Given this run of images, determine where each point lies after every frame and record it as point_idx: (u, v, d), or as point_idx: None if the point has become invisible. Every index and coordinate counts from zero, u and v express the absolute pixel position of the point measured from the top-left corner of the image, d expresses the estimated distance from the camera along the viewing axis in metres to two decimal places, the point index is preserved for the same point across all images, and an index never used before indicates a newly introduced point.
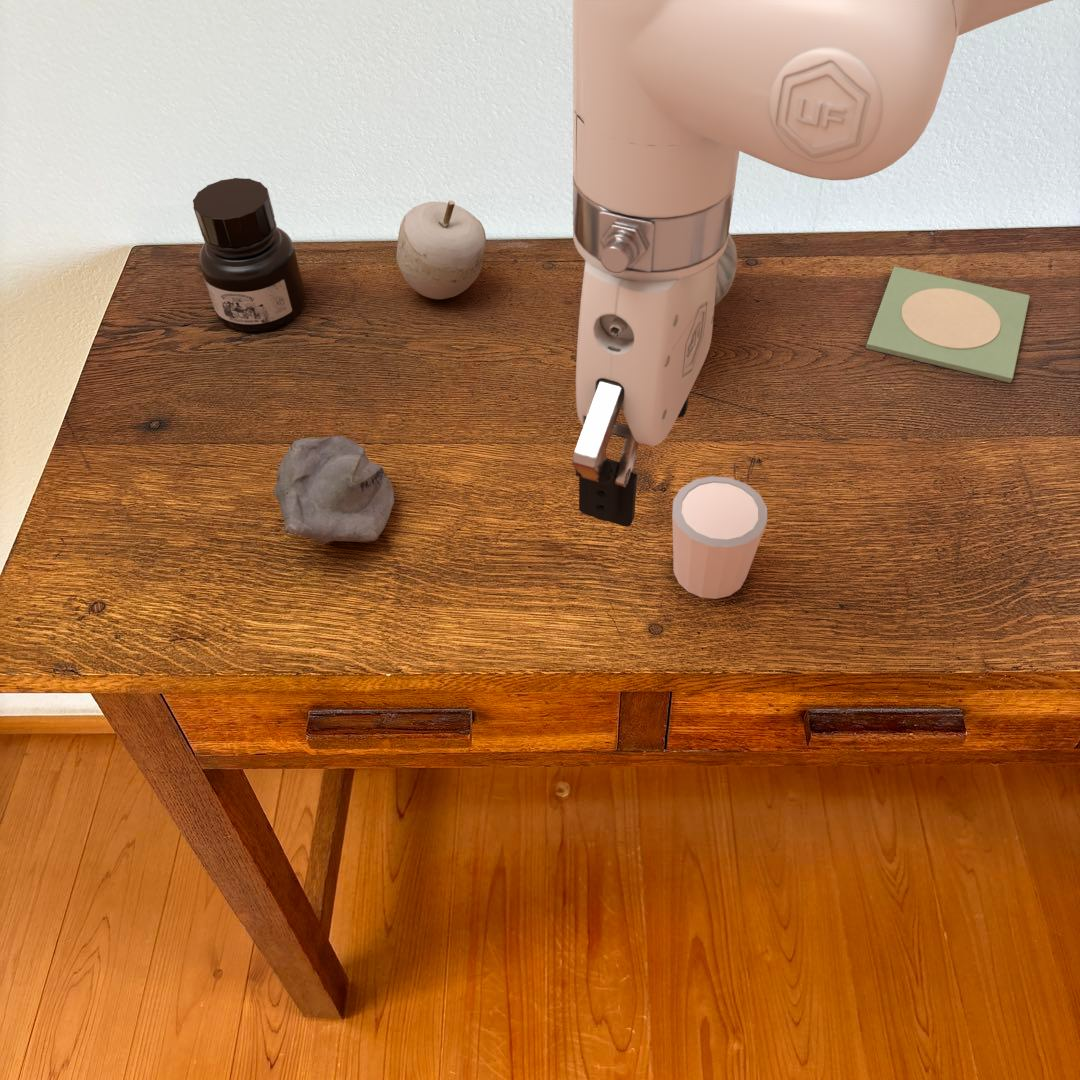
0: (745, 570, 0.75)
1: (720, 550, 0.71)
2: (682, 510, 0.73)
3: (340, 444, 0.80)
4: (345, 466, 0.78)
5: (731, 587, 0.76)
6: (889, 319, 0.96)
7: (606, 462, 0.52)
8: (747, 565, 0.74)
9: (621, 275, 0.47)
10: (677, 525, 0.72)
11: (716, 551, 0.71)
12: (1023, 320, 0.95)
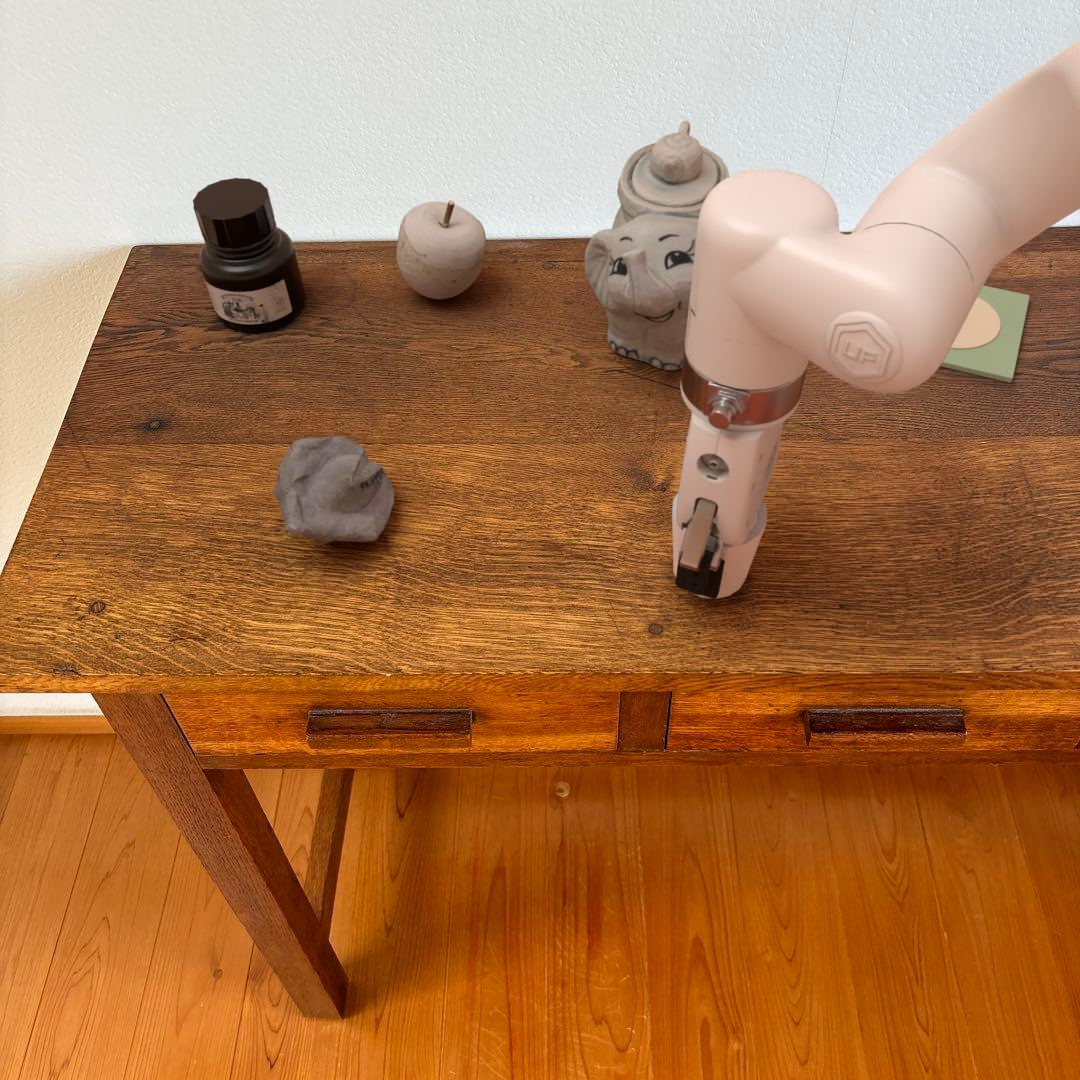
0: (745, 570, 0.75)
1: None
2: None
3: (340, 444, 0.80)
4: (345, 466, 0.78)
5: (731, 587, 0.76)
6: None
7: (705, 555, 0.68)
8: (747, 565, 0.74)
9: None
10: (677, 525, 0.72)
11: None
12: (1023, 320, 0.95)
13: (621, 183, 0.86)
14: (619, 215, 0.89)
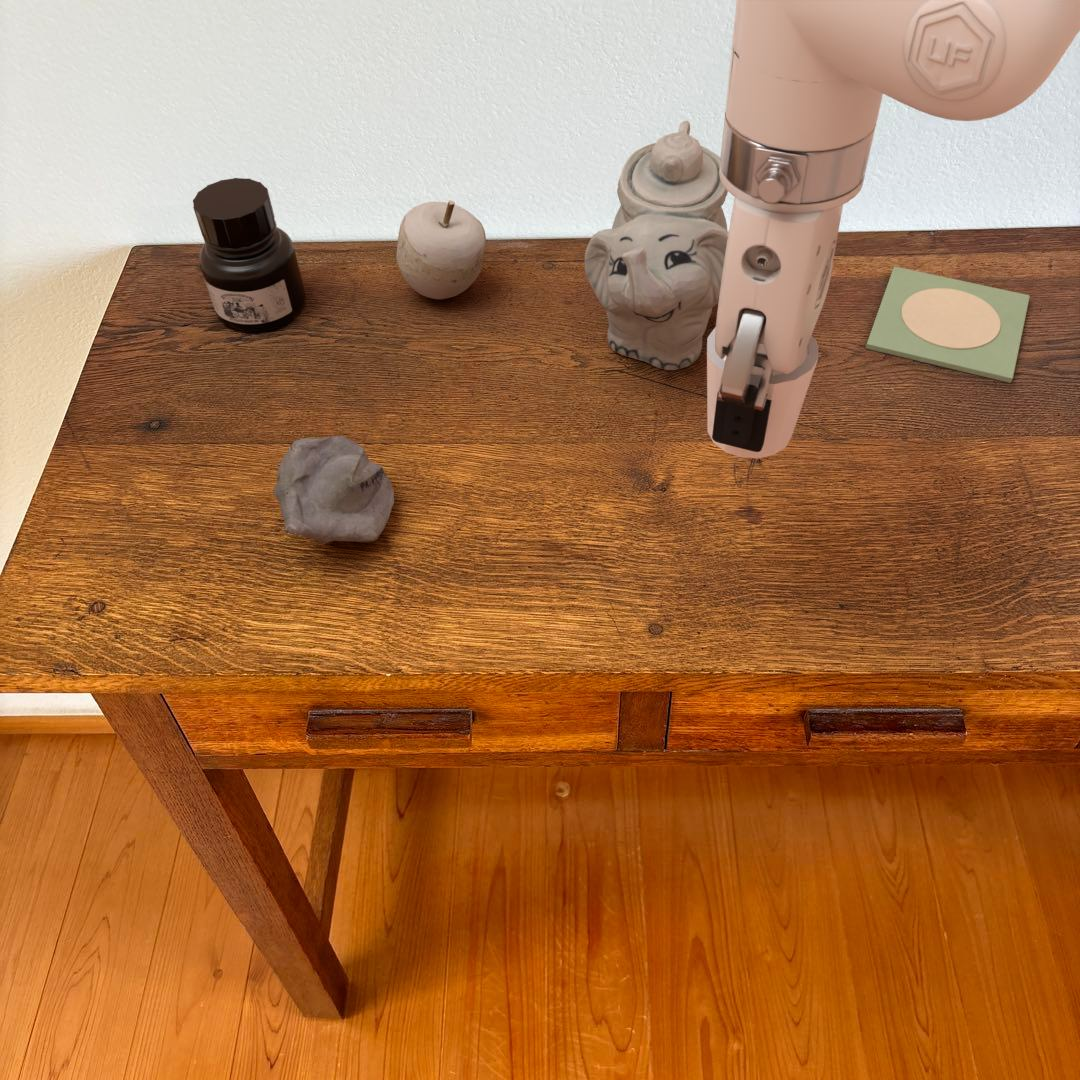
0: (792, 421, 0.64)
1: None
2: None
3: (340, 444, 0.80)
4: (345, 466, 0.78)
5: (776, 443, 0.65)
6: (889, 319, 0.96)
7: (750, 385, 0.58)
8: (795, 414, 0.64)
9: (771, 208, 0.51)
10: (713, 363, 0.62)
11: None
12: (1023, 320, 0.95)
13: (621, 183, 0.86)
14: (619, 215, 0.89)
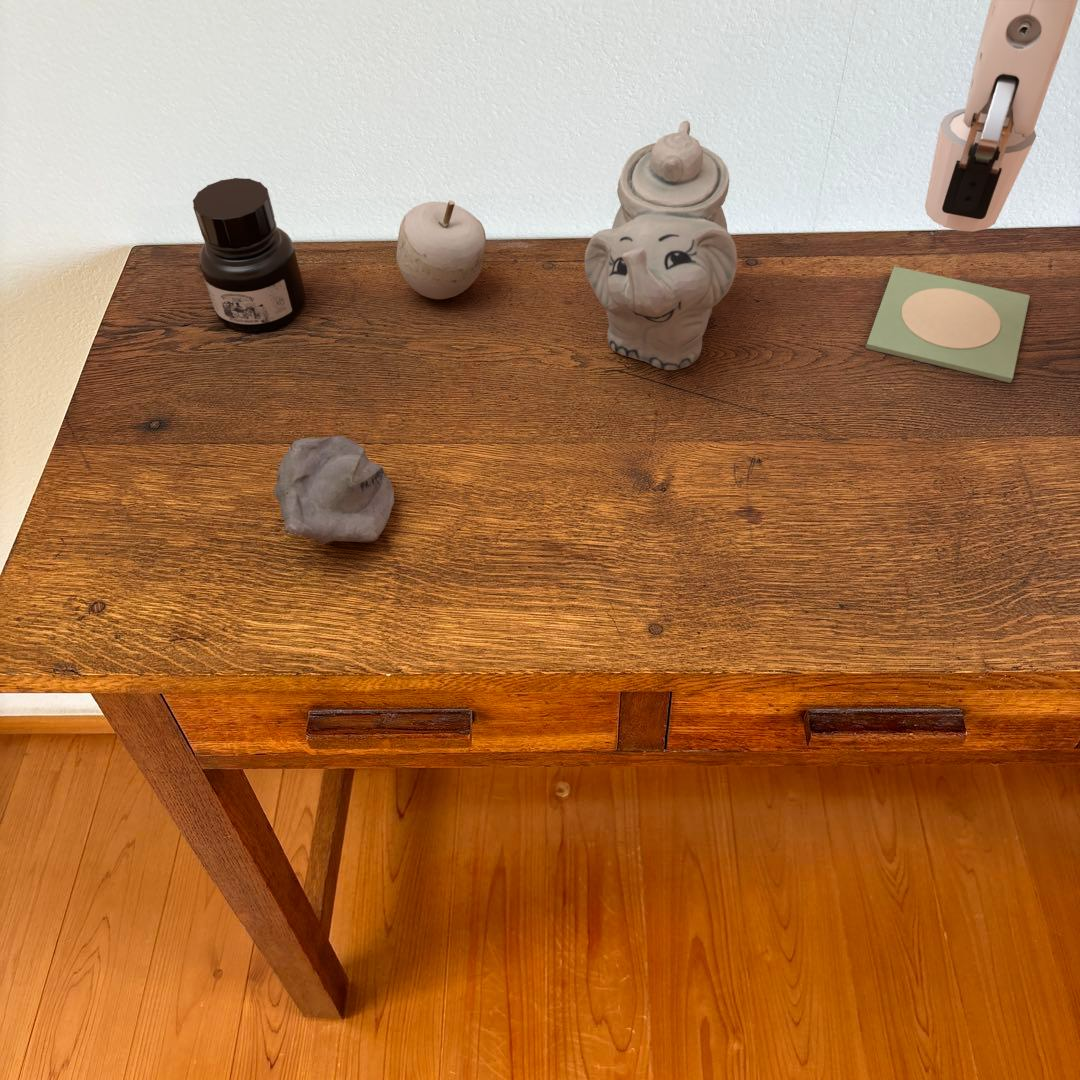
0: (1006, 196, 0.78)
1: None
2: (952, 130, 0.76)
3: (340, 444, 0.80)
4: (345, 466, 0.78)
5: (990, 216, 0.78)
6: (889, 319, 0.96)
7: None
8: (1010, 189, 0.77)
9: None
10: (949, 141, 0.75)
11: None
12: (1023, 320, 0.95)
13: (621, 183, 0.86)
14: (619, 215, 0.89)
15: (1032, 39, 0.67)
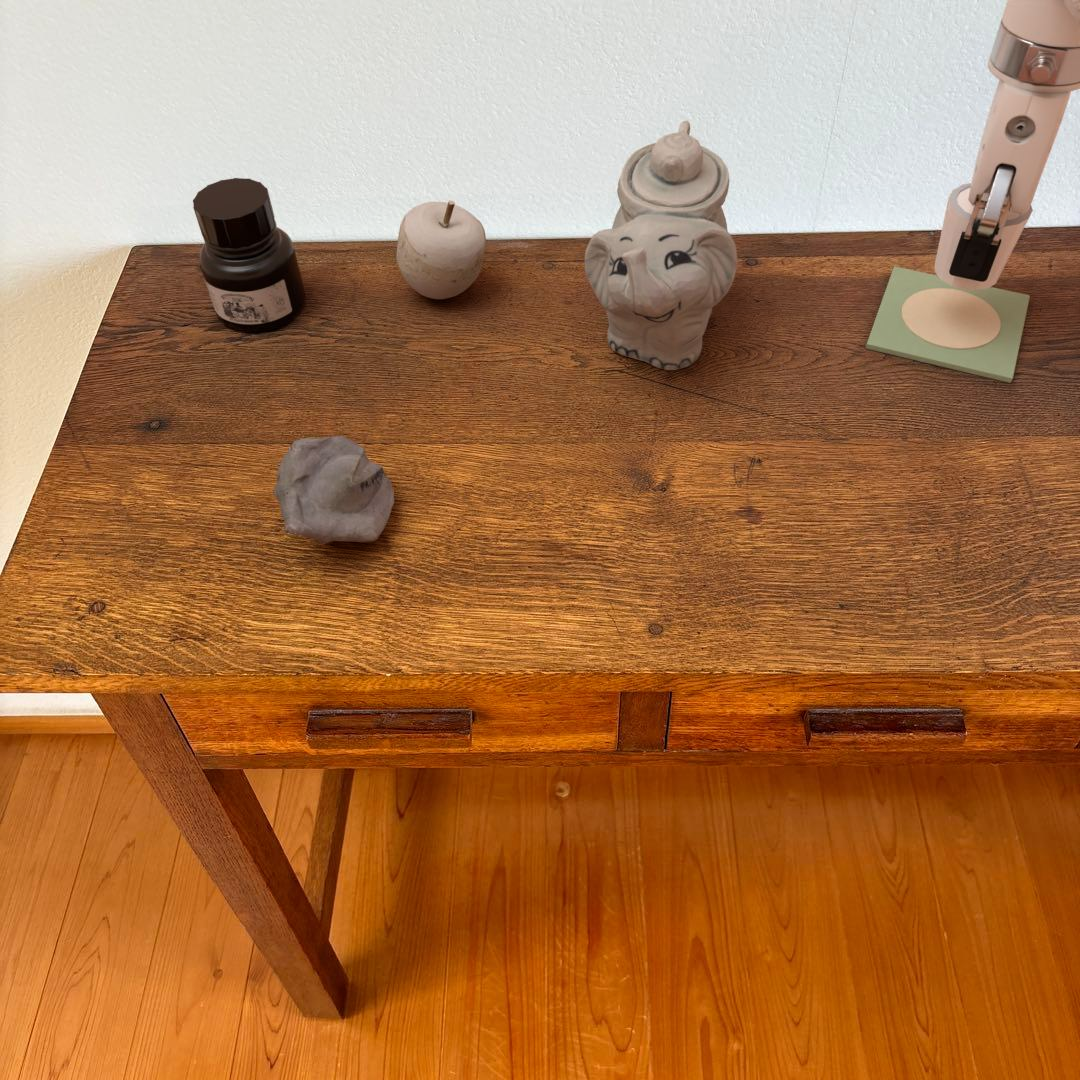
0: (1006, 261, 0.88)
1: None
2: (958, 203, 0.87)
3: (340, 444, 0.80)
4: (345, 466, 0.78)
5: (992, 277, 0.89)
6: (889, 319, 0.96)
7: None
8: (1009, 255, 0.88)
9: (1032, 89, 0.75)
10: (956, 213, 0.86)
11: None
12: (1023, 320, 0.95)
13: (621, 183, 0.86)
14: (619, 215, 0.89)
15: (1028, 134, 0.78)
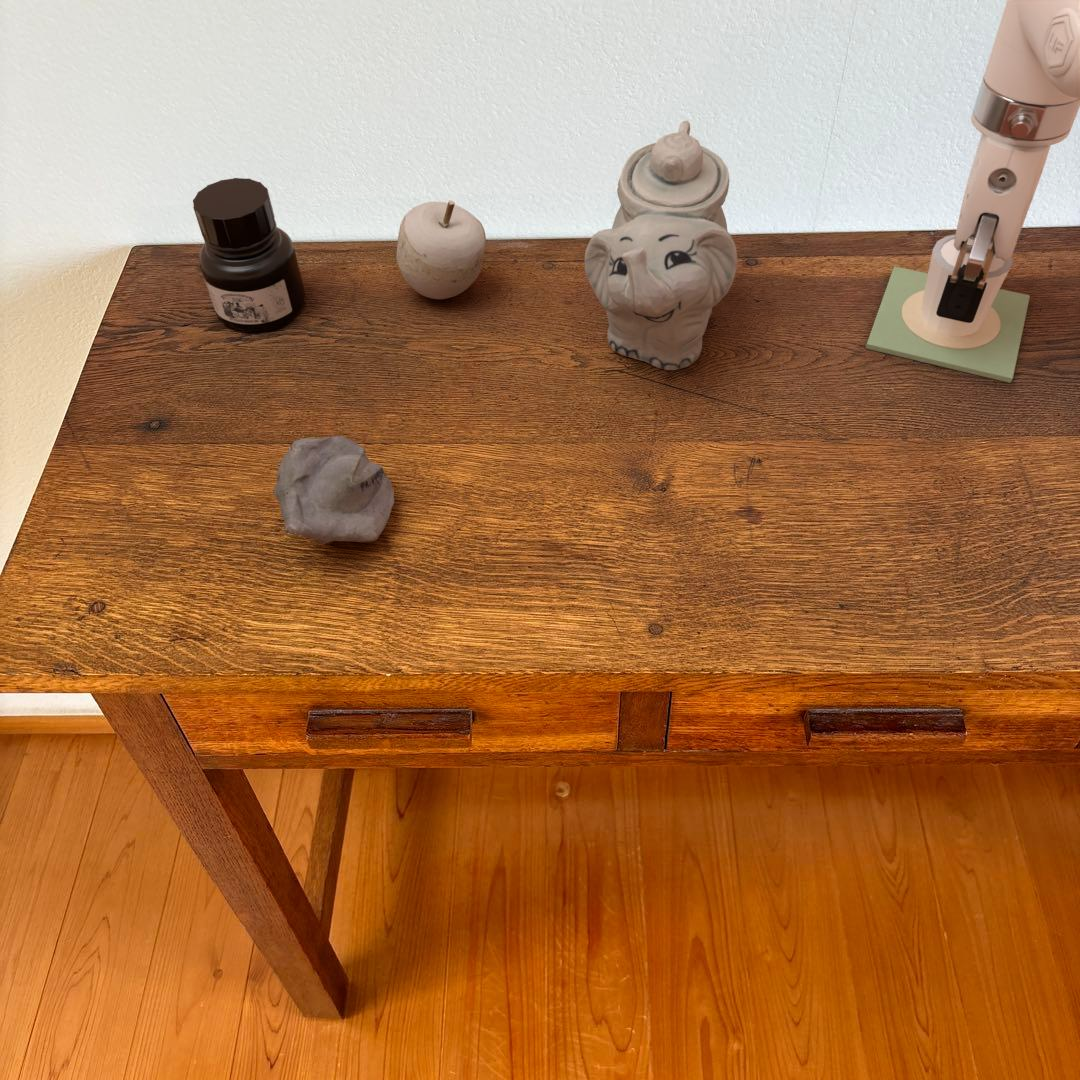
0: (988, 309, 0.92)
1: None
2: (942, 255, 0.91)
3: (340, 444, 0.80)
4: (345, 466, 0.78)
5: (974, 325, 0.93)
6: (889, 319, 0.96)
7: None
8: (991, 303, 0.92)
9: (1013, 143, 0.79)
10: (940, 265, 0.90)
11: None
12: (1023, 320, 0.95)
13: (621, 183, 0.86)
14: (619, 215, 0.89)
15: (1010, 185, 0.81)
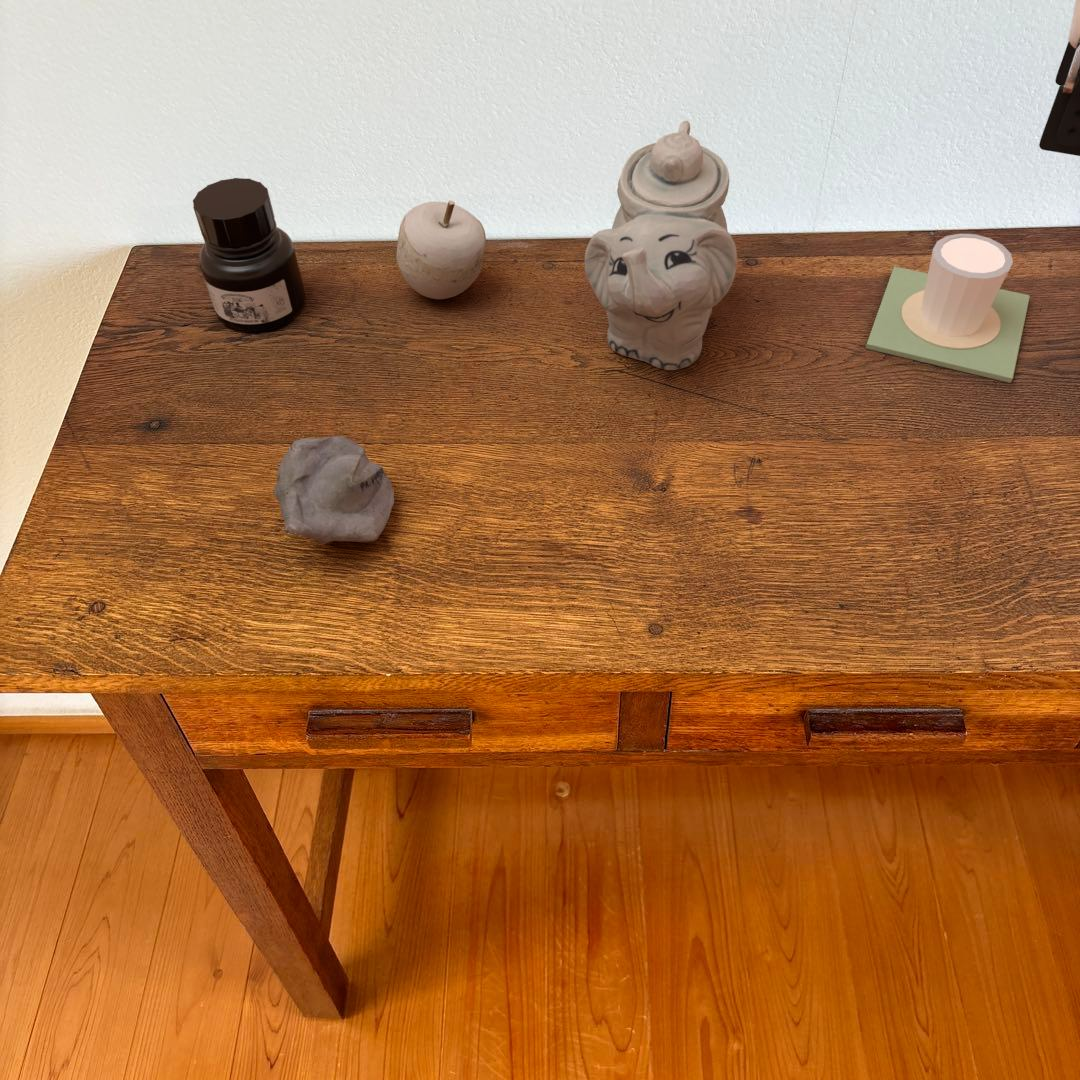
0: (988, 309, 0.92)
1: (978, 282, 0.89)
2: (942, 255, 0.91)
3: (340, 444, 0.80)
4: (345, 466, 0.78)
5: (974, 325, 0.93)
6: (889, 319, 0.96)
7: None
8: (991, 303, 0.92)
9: None
10: (940, 265, 0.90)
11: (974, 283, 0.89)
12: (1023, 320, 0.95)
13: (621, 183, 0.86)
14: (619, 215, 0.89)
15: None
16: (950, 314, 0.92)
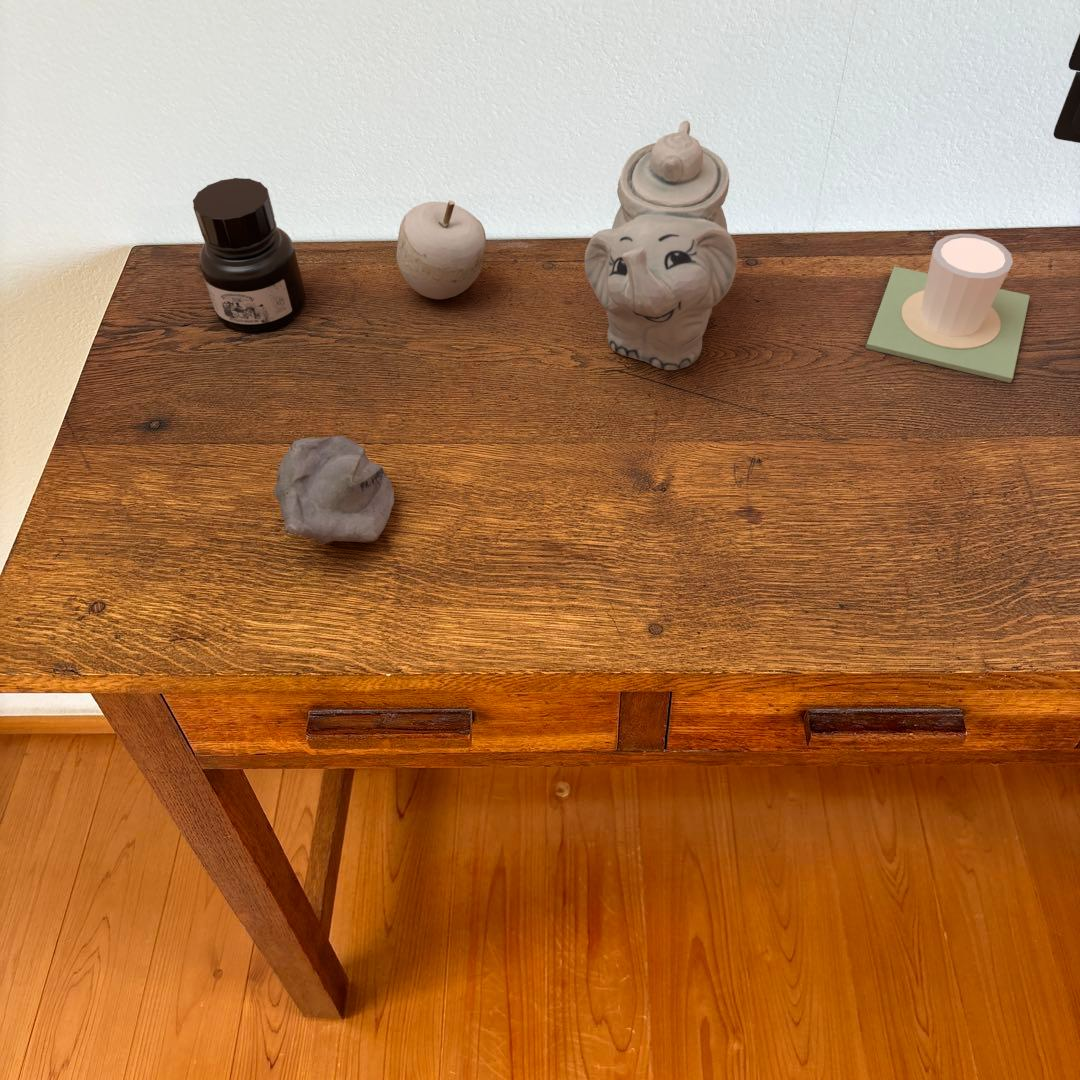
0: (988, 309, 0.92)
1: (978, 282, 0.89)
2: (942, 255, 0.91)
3: (340, 444, 0.80)
4: (345, 466, 0.78)
5: (974, 325, 0.93)
6: (889, 319, 0.96)
7: None
8: (991, 303, 0.92)
9: None
10: (940, 265, 0.90)
11: (974, 283, 0.89)
12: (1023, 320, 0.95)
13: (621, 183, 0.86)
14: (619, 215, 0.89)
15: None
16: (950, 314, 0.92)
